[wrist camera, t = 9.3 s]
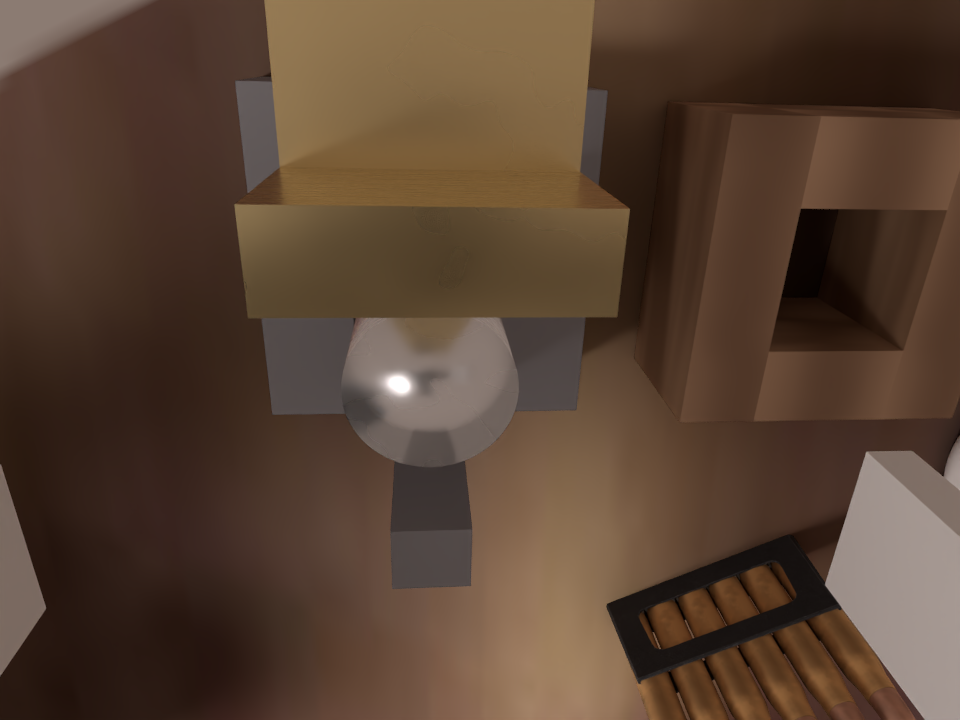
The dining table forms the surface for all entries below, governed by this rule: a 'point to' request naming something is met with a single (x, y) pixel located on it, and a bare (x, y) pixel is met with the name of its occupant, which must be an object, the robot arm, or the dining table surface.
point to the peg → (429, 387)
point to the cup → (953, 465)
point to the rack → (766, 253)
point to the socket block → (323, 350)
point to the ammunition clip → (749, 642)
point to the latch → (430, 165)
